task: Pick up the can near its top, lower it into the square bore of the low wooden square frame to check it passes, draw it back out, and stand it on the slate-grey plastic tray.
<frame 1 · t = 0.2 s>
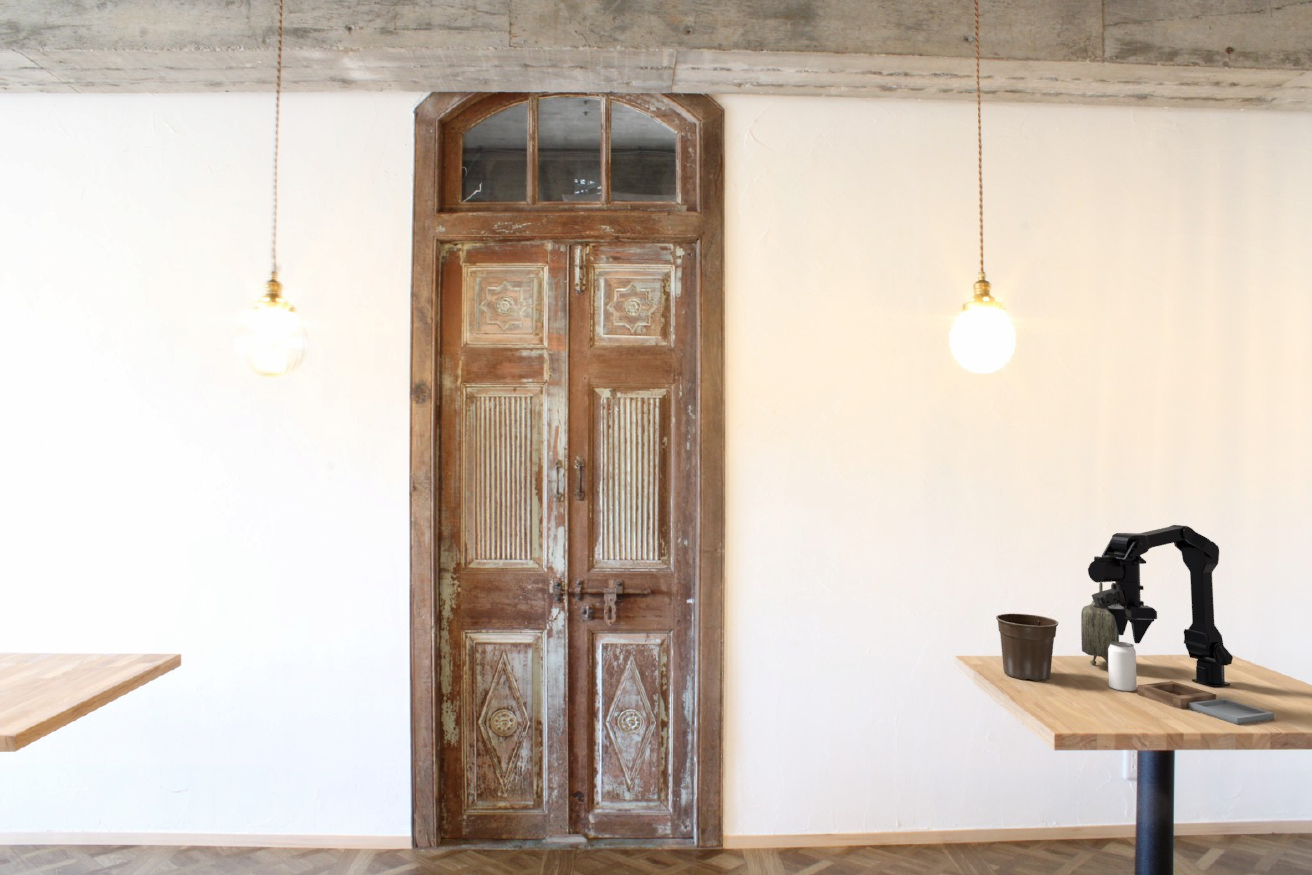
hand: (1128, 639, 207), 14 cm above the table, fingers open, 9 cm apart
plant pot: (1027, 675, 222), on the table
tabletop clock: (1100, 666, 231), on the table
wooden square frame: (1176, 699, 200), on the table
can: (1122, 689, 209), on the table
tray: (1230, 713, 189), on the table
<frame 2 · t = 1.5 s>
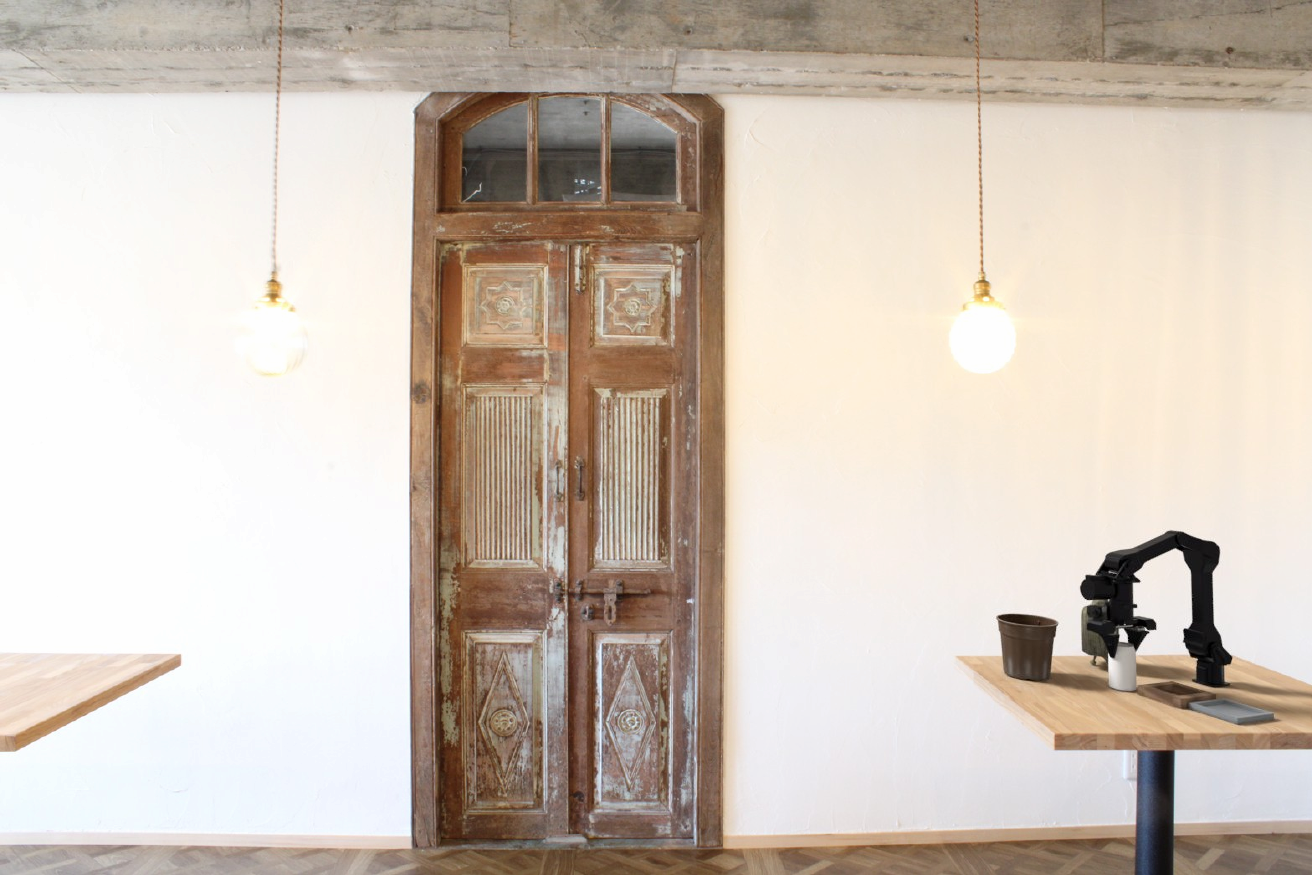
hand: (1122, 656, 210), 9 cm above the table, fingers closed on can, 6 cm apart
can: (1122, 689, 209), on the table, touching gripper
everything else where it was.
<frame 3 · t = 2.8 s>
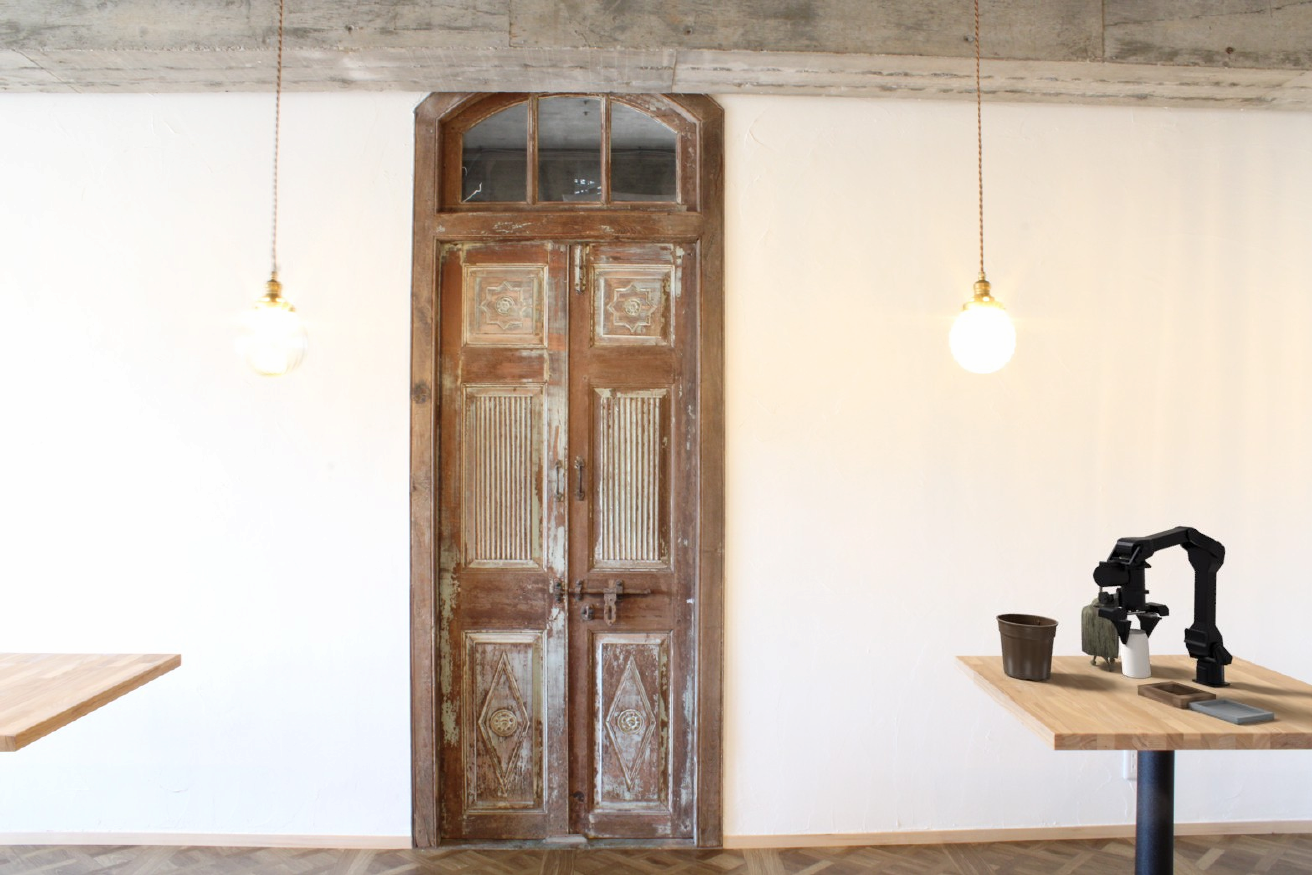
hand: (1134, 643, 208), 13 cm above the table, fingers closed on can, 6 cm apart
can: (1136, 676, 208), point 4 cm above the table, touching gripper
everything else where it was.
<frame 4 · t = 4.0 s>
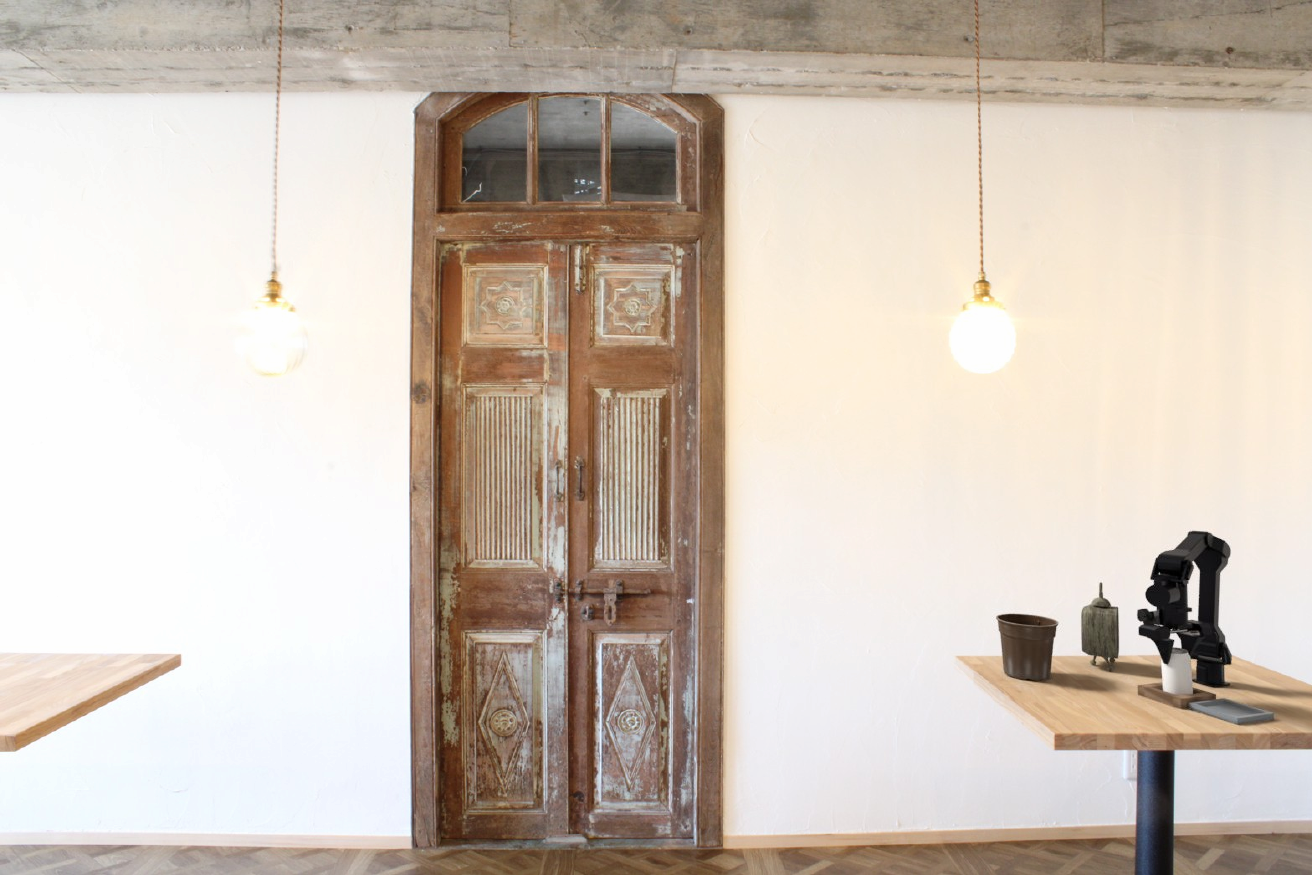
hand: (1175, 662, 200), 9 cm above the table, fingers closed on can, 6 cm apart
can: (1178, 697, 200), point 1 cm above the table, touching gripper
everything else where it was.
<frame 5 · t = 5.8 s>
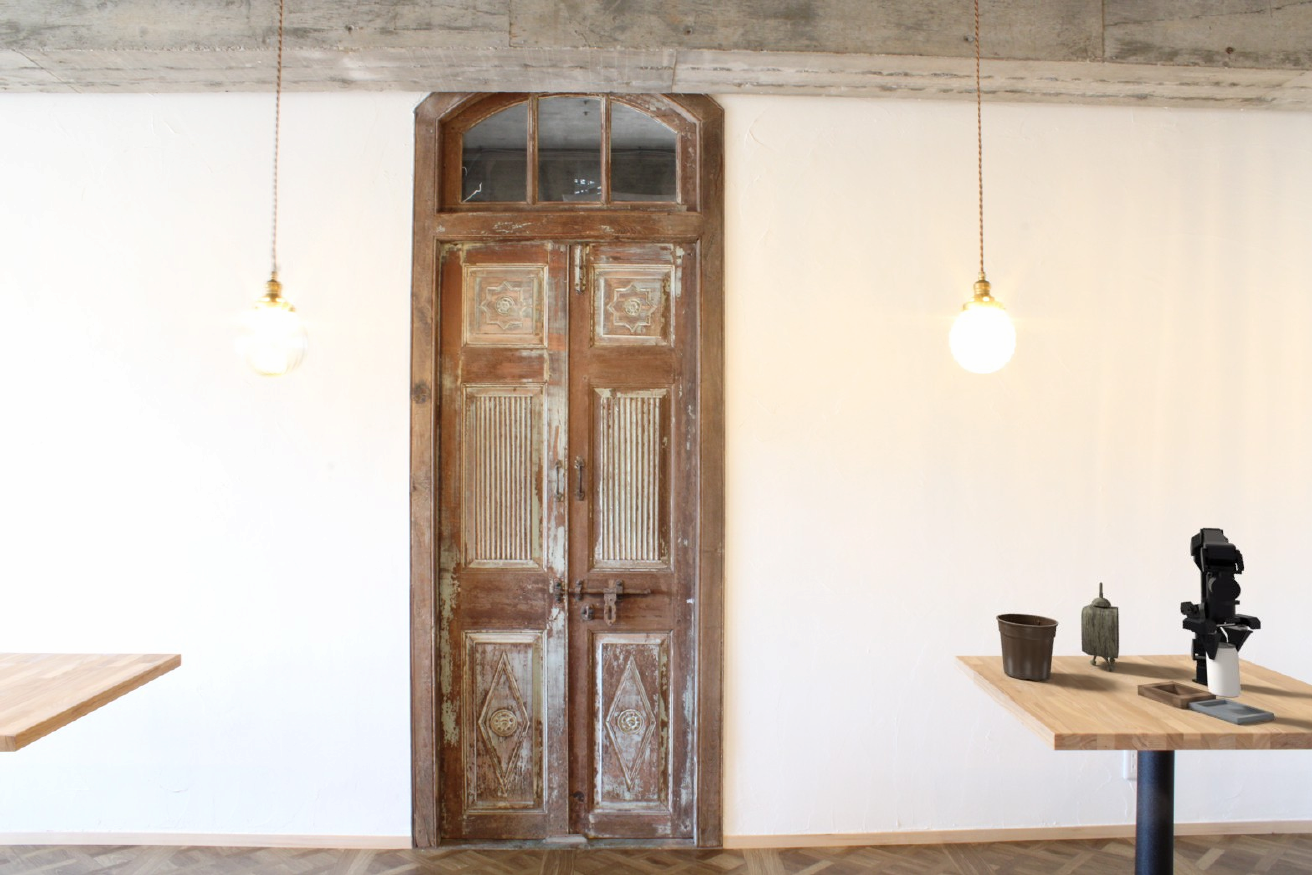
hand: (1222, 658, 190), 13 cm above the table, fingers closed on can, 6 cm apart
can: (1224, 694, 190), point 4 cm above the table, touching gripper
everything else where it was.
when the fingers open (10 cm above the table, at t = 7.0 s): can stays where it is, resting on tray.
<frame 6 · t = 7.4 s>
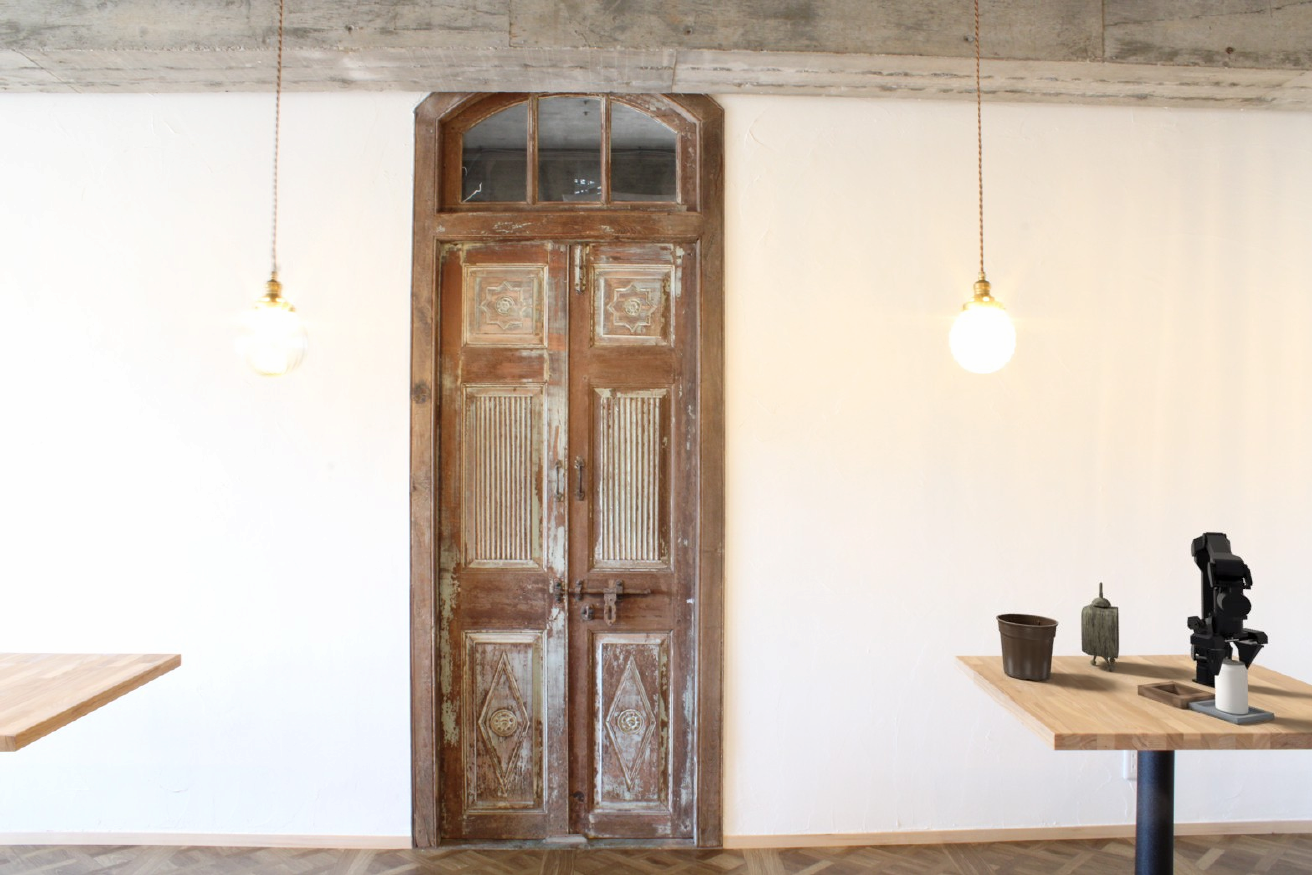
hand: (1229, 673, 189), 10 cm above the table, fingers open, 9 cm apart
can: (1231, 711, 189), resting on tray
everything else where it was.
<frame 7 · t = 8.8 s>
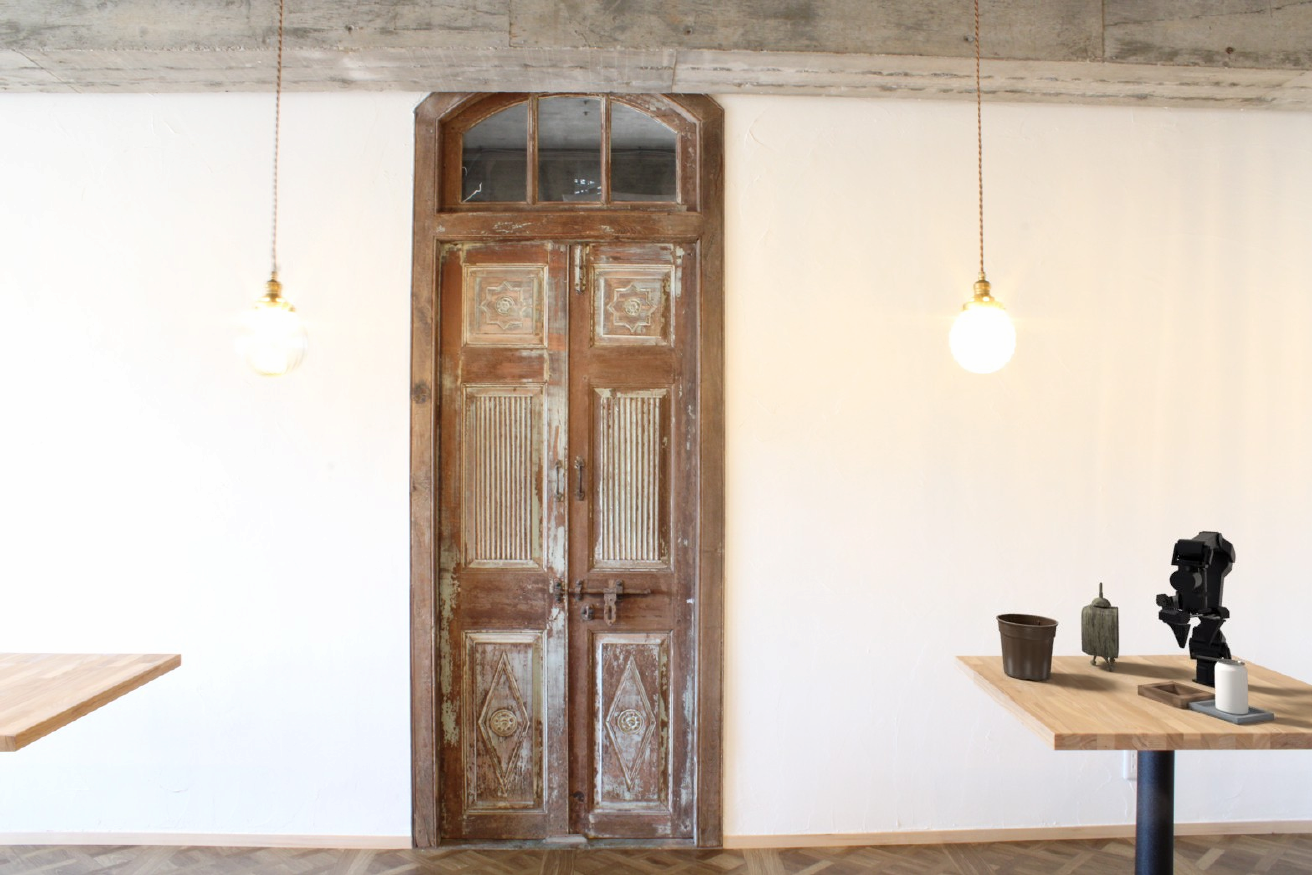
hand: (1194, 646, 203), 13 cm above the table, fingers open, 9 cm apart
nothing on the table moved.
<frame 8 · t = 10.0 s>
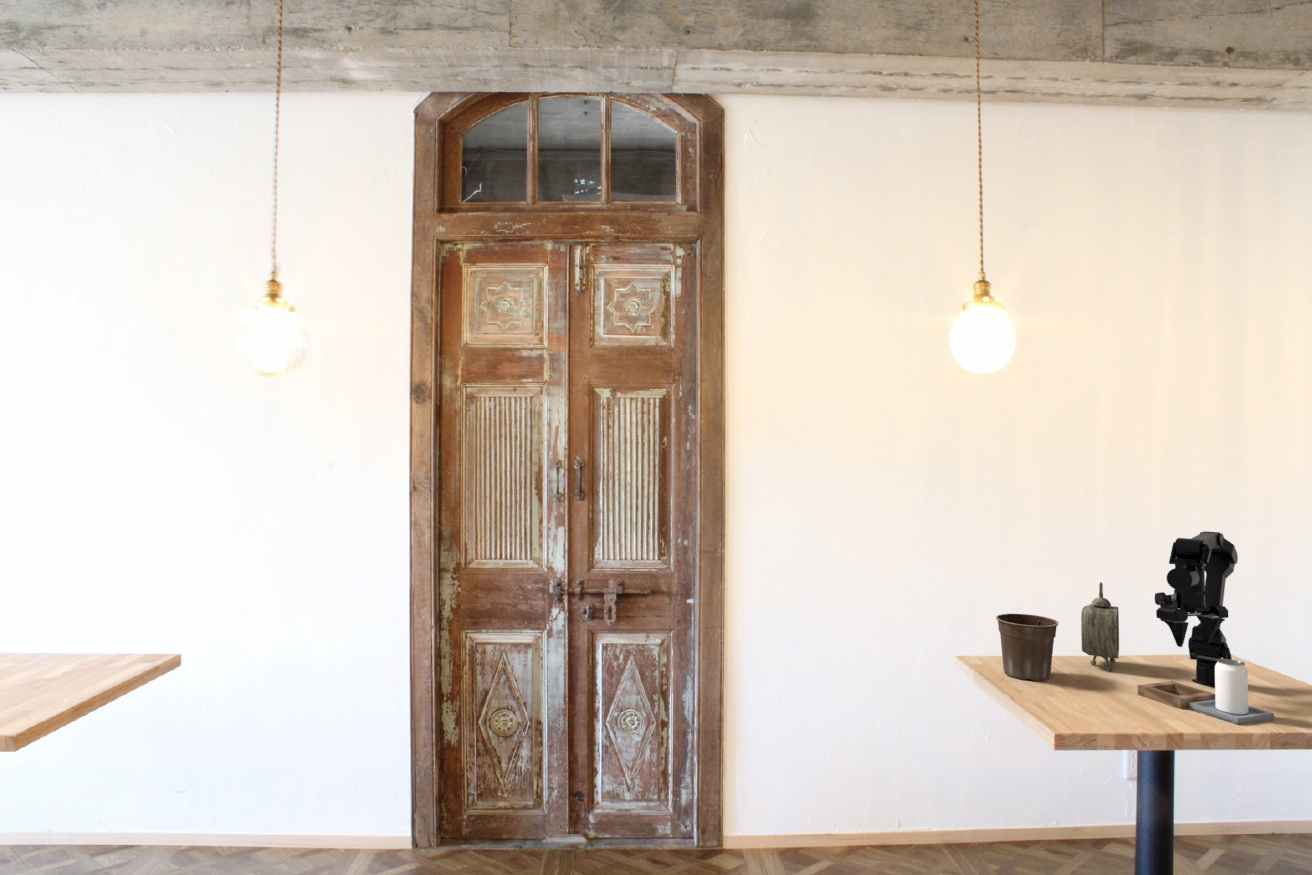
hand: (1192, 645, 204), 13 cm above the table, fingers open, 9 cm apart
nothing on the table moved.
at the end: can inside the target area on the tray (0.6 cm from its centre), point 0.4 cm above the tray's base; can tilted 0°; the gripper is holding nothing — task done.
